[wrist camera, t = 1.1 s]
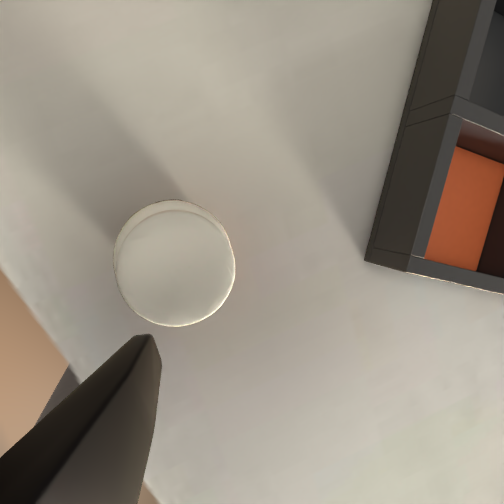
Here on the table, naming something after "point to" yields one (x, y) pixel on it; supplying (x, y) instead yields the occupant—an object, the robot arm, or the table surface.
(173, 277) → the pill bottle
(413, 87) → the organiser
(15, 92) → the table surface
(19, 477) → the robot arm
